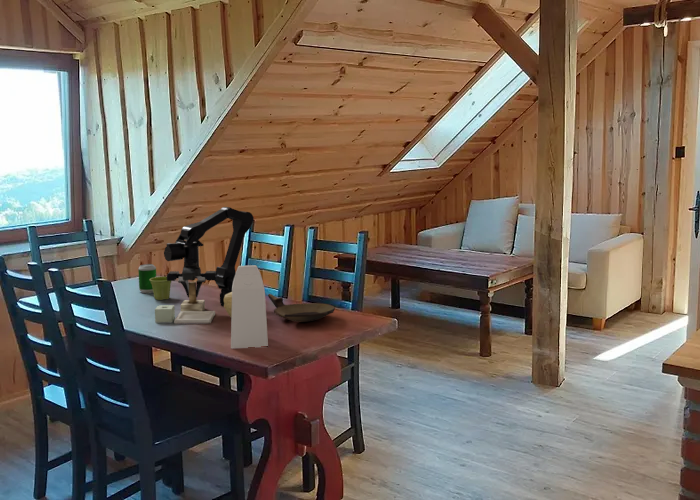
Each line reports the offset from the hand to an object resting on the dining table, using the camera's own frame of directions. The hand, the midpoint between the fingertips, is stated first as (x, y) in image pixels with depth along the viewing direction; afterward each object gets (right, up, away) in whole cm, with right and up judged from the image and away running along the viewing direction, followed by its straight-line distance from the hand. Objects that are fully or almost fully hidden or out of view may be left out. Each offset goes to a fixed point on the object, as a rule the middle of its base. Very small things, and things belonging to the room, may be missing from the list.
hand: (192, 297), depth 272 cm
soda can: (-28, 0, +36) cm, 46 cm away
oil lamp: (+44, -8, -11) cm, 46 cm away
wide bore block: (0, -5, +1) cm, 6 cm away
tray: (+4, -7, -12) cm, 15 cm away
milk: (+28, -12, -42) cm, 52 cm away
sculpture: (+21, -7, -9) cm, 24 cm away
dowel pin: (0, -3, 0) cm, 3 cm away
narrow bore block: (-7, -8, -13) cm, 17 cm away
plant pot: (-18, -2, +23) cm, 29 cm away
